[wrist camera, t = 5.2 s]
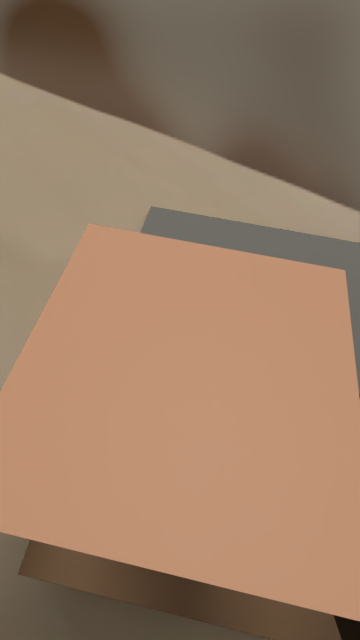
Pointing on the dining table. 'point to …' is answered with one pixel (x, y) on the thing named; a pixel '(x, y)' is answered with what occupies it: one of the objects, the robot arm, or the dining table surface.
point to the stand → (176, 594)
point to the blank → (191, 419)
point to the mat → (267, 249)
